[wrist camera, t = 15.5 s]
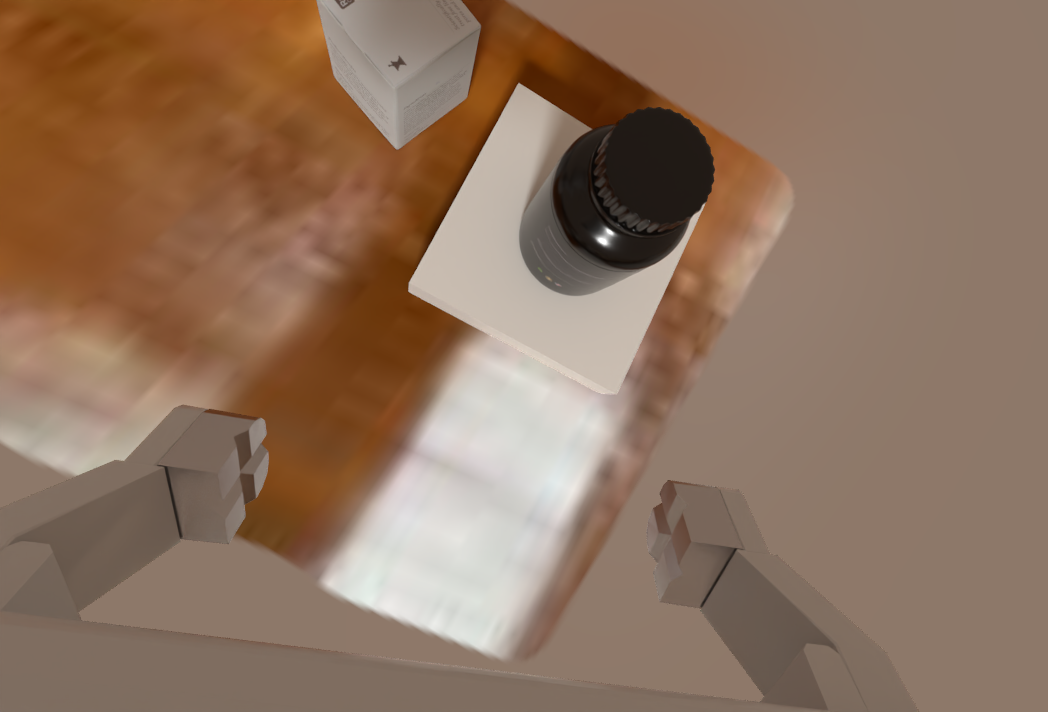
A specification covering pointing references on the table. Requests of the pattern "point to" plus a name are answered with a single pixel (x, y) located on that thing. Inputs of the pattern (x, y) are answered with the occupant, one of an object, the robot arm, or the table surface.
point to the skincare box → (401, 59)
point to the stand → (502, 276)
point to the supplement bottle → (616, 202)
